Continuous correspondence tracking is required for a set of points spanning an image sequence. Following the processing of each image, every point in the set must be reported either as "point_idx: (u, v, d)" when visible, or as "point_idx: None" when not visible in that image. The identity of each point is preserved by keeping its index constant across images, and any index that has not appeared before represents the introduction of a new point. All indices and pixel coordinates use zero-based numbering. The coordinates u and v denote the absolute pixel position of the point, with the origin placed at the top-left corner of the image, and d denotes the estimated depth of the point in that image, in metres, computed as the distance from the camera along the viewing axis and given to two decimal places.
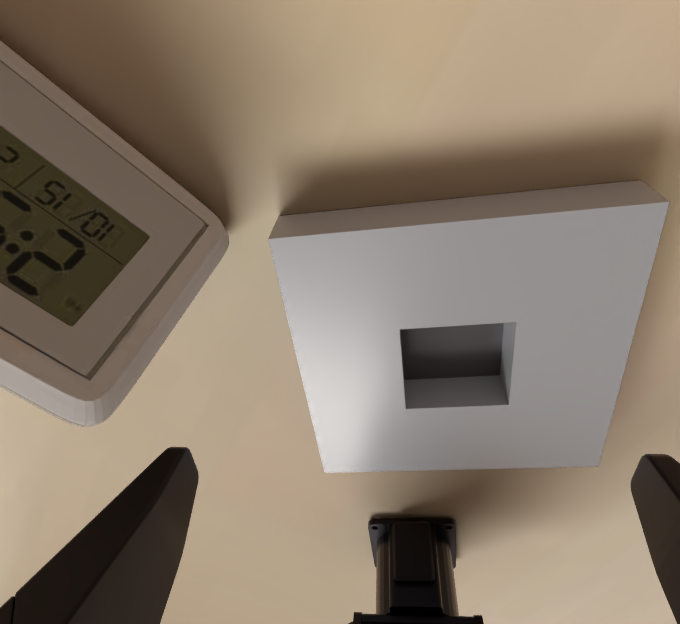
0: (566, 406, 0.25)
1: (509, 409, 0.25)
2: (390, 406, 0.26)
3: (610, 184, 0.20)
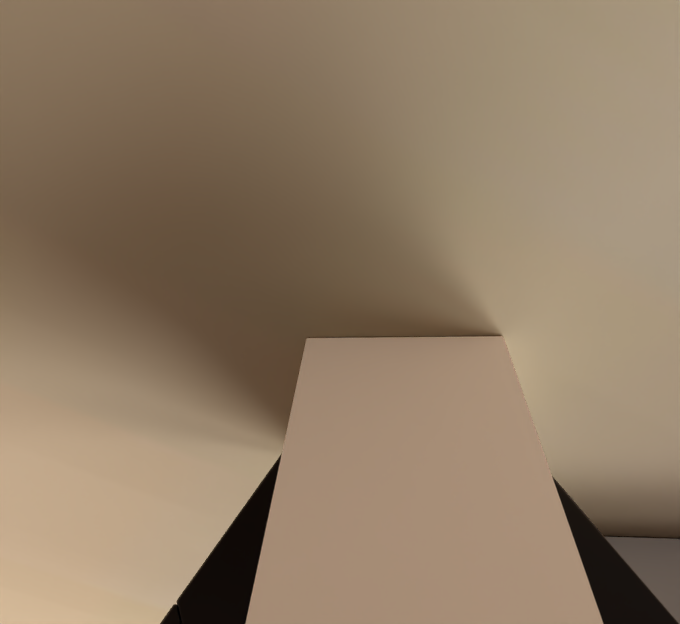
0: None
1: None
2: None
3: None
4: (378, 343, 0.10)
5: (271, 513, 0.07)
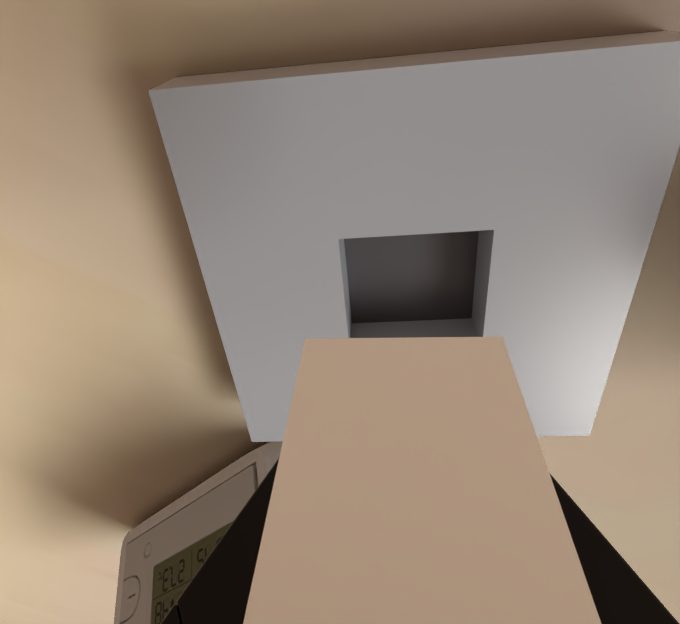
0: (513, 142, 0.15)
1: (503, 227, 0.16)
2: None
3: None
4: (377, 343, 0.10)
5: (268, 514, 0.07)
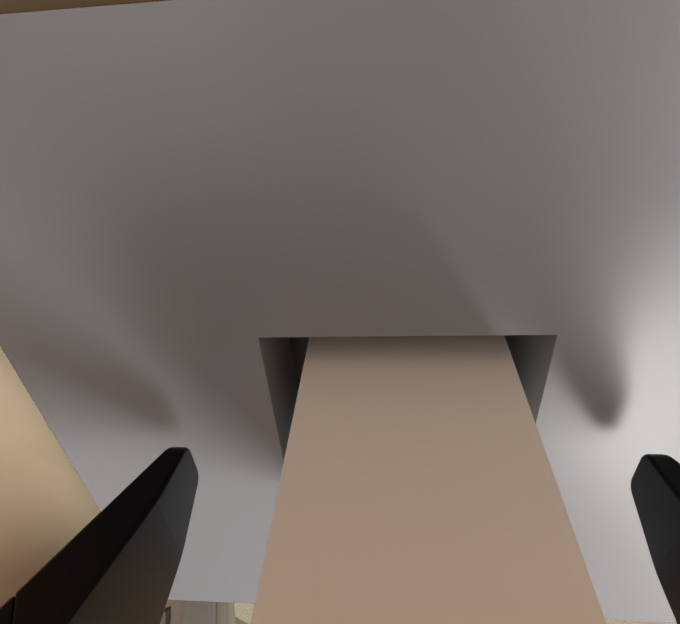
0: (620, 169, 0.07)
1: (576, 331, 0.08)
2: None
3: None
4: None
5: (290, 434, 0.08)
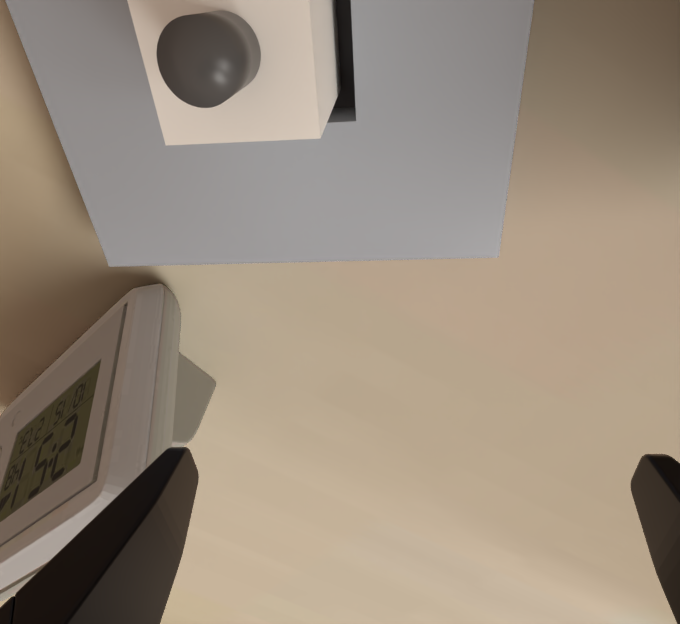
0: None
1: None
2: (350, 146, 0.16)
3: None
4: None
5: None
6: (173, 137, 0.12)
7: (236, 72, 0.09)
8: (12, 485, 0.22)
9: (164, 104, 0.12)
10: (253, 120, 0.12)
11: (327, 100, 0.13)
